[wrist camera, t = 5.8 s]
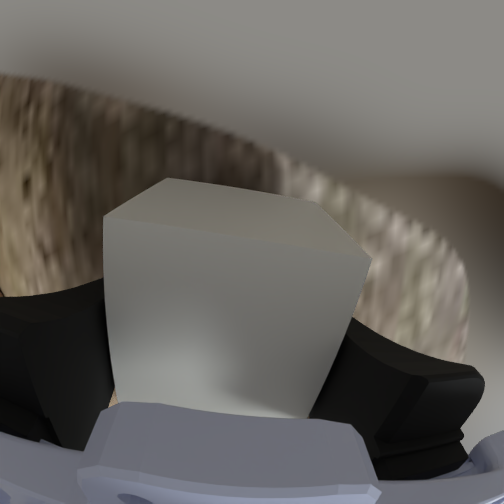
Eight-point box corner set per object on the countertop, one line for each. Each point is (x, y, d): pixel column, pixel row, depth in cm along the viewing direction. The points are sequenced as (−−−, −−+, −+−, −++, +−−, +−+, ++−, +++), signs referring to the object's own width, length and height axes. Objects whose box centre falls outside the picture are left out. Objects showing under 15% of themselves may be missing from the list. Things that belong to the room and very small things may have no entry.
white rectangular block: (315, 201, 12) (371, 258, 6) (269, 371, 15) (280, 467, 9) (167, 177, 11) (103, 216, 6) (157, 355, 14) (128, 448, 9)
